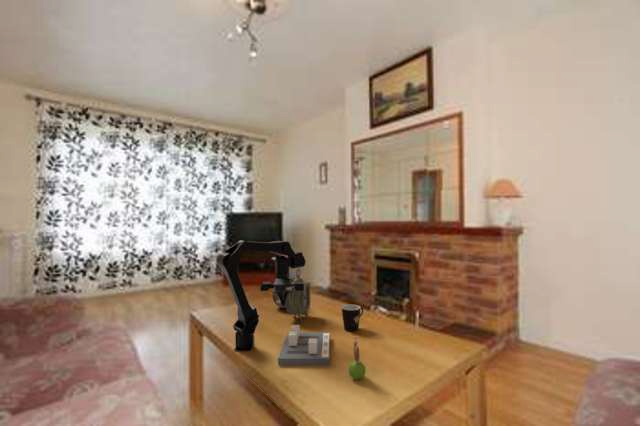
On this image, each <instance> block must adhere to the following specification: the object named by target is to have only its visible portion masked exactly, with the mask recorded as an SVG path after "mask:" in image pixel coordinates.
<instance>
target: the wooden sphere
mask: <svg viewBox="0 0 640 426" xmlns="http://www.w3.org/2000/svg"><path fill="white" fill-rule="evenodd" d="M293 282H294V281H291V284H292V283H293ZM272 289H273V290H272V293H271V295H272V296H271V297H272V301H273V302H274V304H275V305H276V306H277V307H280V308H282V309H286V302H285V305H284V306H282V304H281V301H280V299H279V296H278V295H277V293H274V288H272ZM283 298H284V291H283Z"/></svg>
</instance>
